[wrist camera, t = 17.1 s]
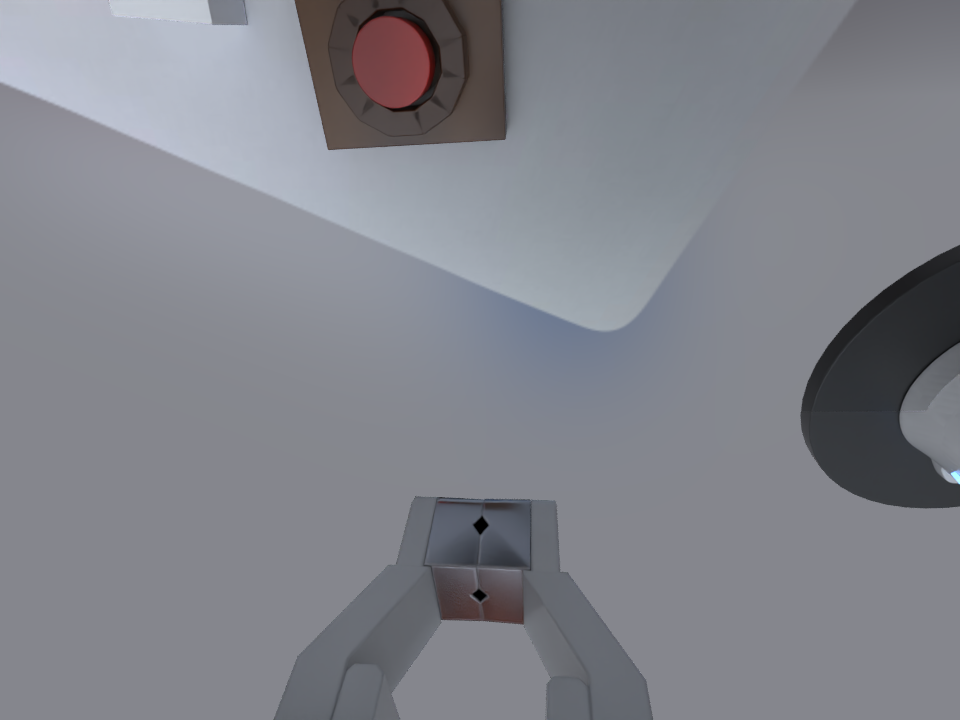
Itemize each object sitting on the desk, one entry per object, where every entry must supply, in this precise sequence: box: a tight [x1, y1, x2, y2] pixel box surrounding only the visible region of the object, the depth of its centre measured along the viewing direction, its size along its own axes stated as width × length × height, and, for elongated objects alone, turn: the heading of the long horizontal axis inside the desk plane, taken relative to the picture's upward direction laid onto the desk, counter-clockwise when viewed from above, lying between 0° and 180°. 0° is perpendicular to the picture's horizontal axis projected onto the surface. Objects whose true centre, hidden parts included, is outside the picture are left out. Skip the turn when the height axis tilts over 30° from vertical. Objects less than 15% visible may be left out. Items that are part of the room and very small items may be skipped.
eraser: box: [108, 0, 247, 25], centre depth 24 cm, size 1×5×4 cm, turn 85°
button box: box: [295, 0, 507, 150], centre depth 25 cm, size 10×8×4 cm
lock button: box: [352, 16, 435, 108], centre depth 23 cm, size 4×4×2 cm
